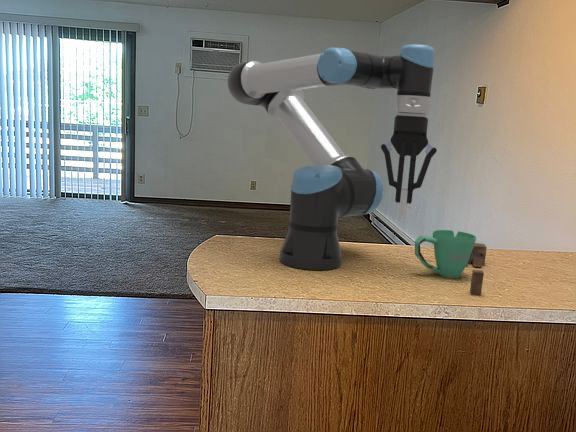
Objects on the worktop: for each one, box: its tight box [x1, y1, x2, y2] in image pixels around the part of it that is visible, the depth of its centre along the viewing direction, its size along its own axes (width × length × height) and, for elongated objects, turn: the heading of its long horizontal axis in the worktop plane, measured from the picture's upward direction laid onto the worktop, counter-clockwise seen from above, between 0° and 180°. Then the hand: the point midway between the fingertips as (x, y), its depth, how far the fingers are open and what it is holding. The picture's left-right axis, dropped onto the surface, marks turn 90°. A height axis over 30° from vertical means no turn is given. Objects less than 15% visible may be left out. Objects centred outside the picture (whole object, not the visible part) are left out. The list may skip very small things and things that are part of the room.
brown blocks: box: [465, 242, 487, 297], centre depth 134 cm, size 7×32×5 cm, turn 169°
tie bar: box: [471, 253, 483, 268], centre depth 155 cm, size 2×26×2 cm, turn 169°
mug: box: [414, 229, 477, 279], centre depth 133 cm, size 15×10×10 cm
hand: (401, 216), depth 133 cm, fingers closed
